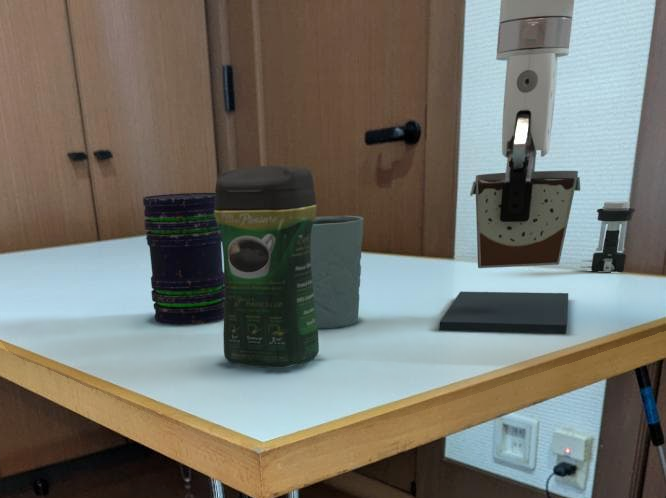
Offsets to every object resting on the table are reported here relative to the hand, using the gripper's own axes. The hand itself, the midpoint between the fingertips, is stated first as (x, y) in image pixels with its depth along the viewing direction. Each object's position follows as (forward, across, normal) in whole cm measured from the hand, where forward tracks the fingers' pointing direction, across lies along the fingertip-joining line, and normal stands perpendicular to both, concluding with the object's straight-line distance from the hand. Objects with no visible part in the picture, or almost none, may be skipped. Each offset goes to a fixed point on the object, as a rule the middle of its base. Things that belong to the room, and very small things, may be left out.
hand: (516, 216), depth 95 cm
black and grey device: (+12, +36, -12) cm, 40 cm away
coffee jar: (+12, -27, +22) cm, 37 cm away
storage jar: (+12, -7, +40) cm, 42 cm away
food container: (+5, 0, 0) cm, 5 cm away
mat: (+11, 0, 0) cm, 11 cm away
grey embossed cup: (+12, -7, +22) cm, 26 cm away
